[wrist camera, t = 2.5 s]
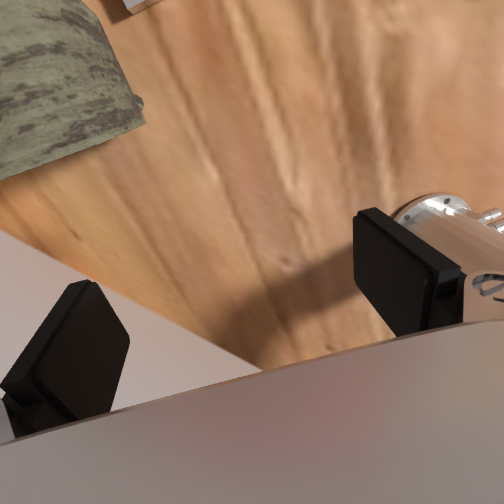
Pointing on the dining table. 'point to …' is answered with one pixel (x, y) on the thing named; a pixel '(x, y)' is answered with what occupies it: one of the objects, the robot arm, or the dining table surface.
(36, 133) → the tabletop clock
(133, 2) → the levelling base
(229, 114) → the dining table surface
